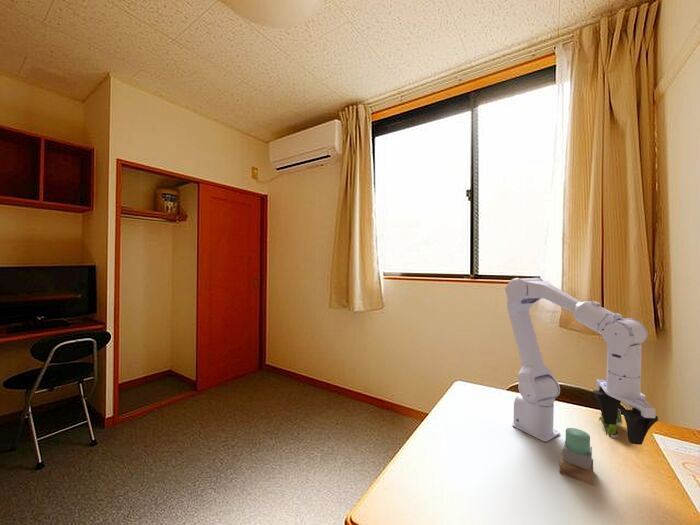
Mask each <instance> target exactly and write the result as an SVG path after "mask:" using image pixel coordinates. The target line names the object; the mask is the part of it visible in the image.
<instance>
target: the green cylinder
mask: <svg viewBox="0 0 700 525" xmlns="http://www.w3.org/2000/svg"><path fill="white" fill-rule="evenodd" d="M565 440H566V443H565V442H564V444H565V445H566V447H567V448H568V449H569V450H570V451H572V452H574V453H576V454H580V455H588V454H590V447H591V436H590V434H588V433H587V432H586V431H584V430H582V429H580V428H575V427H567V428H566V429H565Z"/></svg>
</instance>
